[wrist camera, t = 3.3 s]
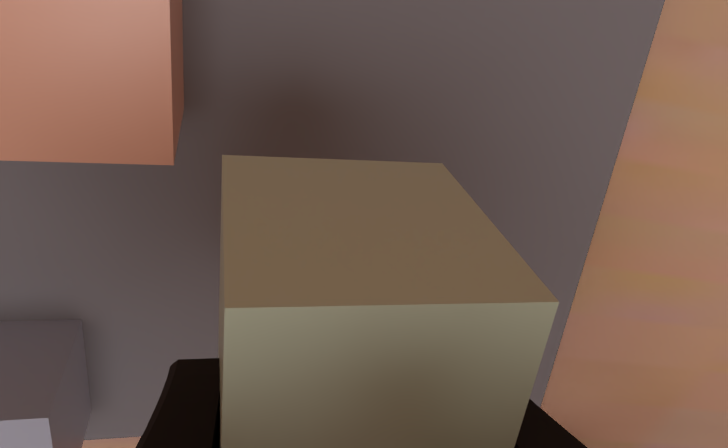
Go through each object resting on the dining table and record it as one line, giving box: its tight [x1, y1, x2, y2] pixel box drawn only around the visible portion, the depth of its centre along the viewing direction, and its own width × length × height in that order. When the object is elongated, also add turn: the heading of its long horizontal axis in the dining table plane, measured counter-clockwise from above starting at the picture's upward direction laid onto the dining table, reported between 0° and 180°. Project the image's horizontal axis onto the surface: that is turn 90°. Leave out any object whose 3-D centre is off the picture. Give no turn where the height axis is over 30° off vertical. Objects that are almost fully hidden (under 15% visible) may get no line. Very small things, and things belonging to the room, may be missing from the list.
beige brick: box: [218, 155, 559, 448], centre depth 10 cm, size 7×4×4 cm, turn 173°
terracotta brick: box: [0, 0, 184, 165], centre depth 13 cm, size 7×4×4 cm, turn 83°
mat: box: [0, 0, 665, 440], centre depth 18 cm, size 17×24×1 cm
